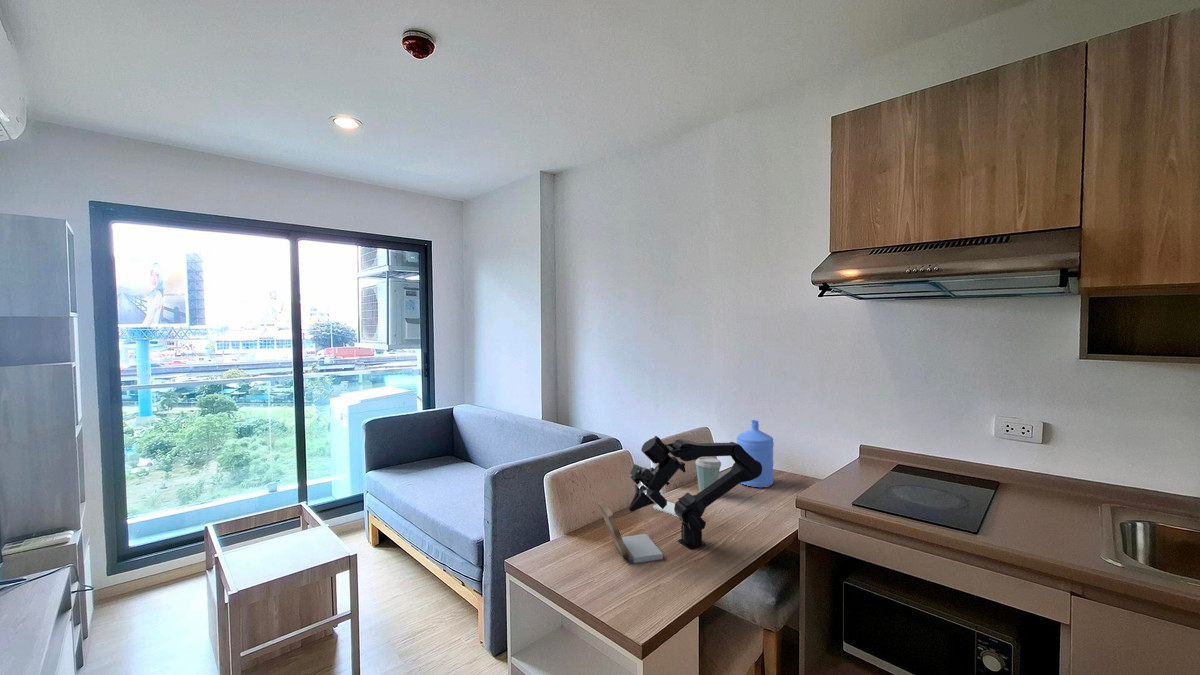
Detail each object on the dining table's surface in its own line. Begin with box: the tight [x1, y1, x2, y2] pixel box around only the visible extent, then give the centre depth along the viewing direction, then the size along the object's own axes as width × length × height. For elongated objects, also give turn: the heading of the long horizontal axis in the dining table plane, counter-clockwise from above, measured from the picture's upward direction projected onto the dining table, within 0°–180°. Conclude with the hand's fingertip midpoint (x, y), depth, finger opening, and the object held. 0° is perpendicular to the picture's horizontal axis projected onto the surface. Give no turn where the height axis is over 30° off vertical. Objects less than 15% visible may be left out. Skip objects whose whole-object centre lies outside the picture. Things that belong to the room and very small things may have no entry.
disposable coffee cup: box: [694, 456, 722, 493], centre depth 194 cm, size 11×11×15 cm
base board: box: [621, 533, 664, 564], centre depth 145 cm, size 10×14×2 cm
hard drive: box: [652, 500, 679, 518], centre depth 177 cm, size 2×8×12 cm
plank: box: [597, 499, 629, 560], centre depth 143 cm, size 14×12×2 cm
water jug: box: [736, 419, 774, 487], centre depth 208 cm, size 16×16×28 cm
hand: (629, 510), depth 144 cm, fingers closed
